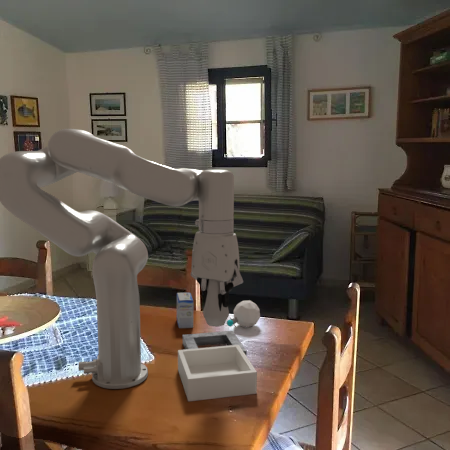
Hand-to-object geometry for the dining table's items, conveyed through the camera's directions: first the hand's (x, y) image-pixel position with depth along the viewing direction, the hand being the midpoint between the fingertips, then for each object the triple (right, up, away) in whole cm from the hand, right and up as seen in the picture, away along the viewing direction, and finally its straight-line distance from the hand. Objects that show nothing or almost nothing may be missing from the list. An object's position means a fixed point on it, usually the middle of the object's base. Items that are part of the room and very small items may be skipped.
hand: (216, 307), depth 108 cm
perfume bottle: (+7, -12, +36) cm, 39 cm away
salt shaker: (0, -4, +1) cm, 4 cm away
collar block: (-1, -15, +19) cm, 24 cm away
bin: (0, -17, +3) cm, 17 cm away
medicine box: (-10, -12, +39) cm, 42 cm away
